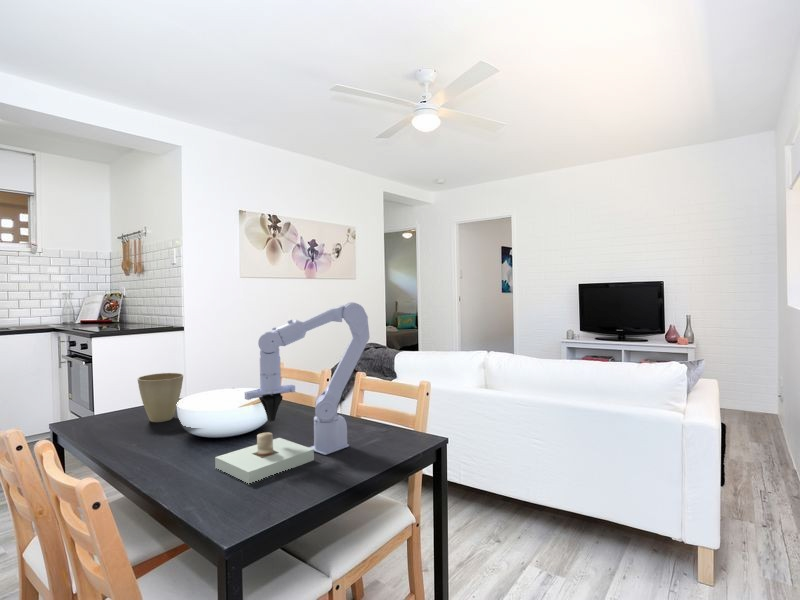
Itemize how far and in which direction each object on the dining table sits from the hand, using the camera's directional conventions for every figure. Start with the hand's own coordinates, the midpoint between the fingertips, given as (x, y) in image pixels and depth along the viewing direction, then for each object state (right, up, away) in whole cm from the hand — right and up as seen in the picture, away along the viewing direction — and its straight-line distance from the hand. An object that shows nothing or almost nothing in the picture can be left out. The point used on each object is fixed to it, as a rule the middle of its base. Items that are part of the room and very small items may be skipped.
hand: (271, 420), depth 131 cm
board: (+1, -10, -8) cm, 13 cm away
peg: (+1, -10, -8) cm, 13 cm away
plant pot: (-51, -10, +36) cm, 63 cm away
